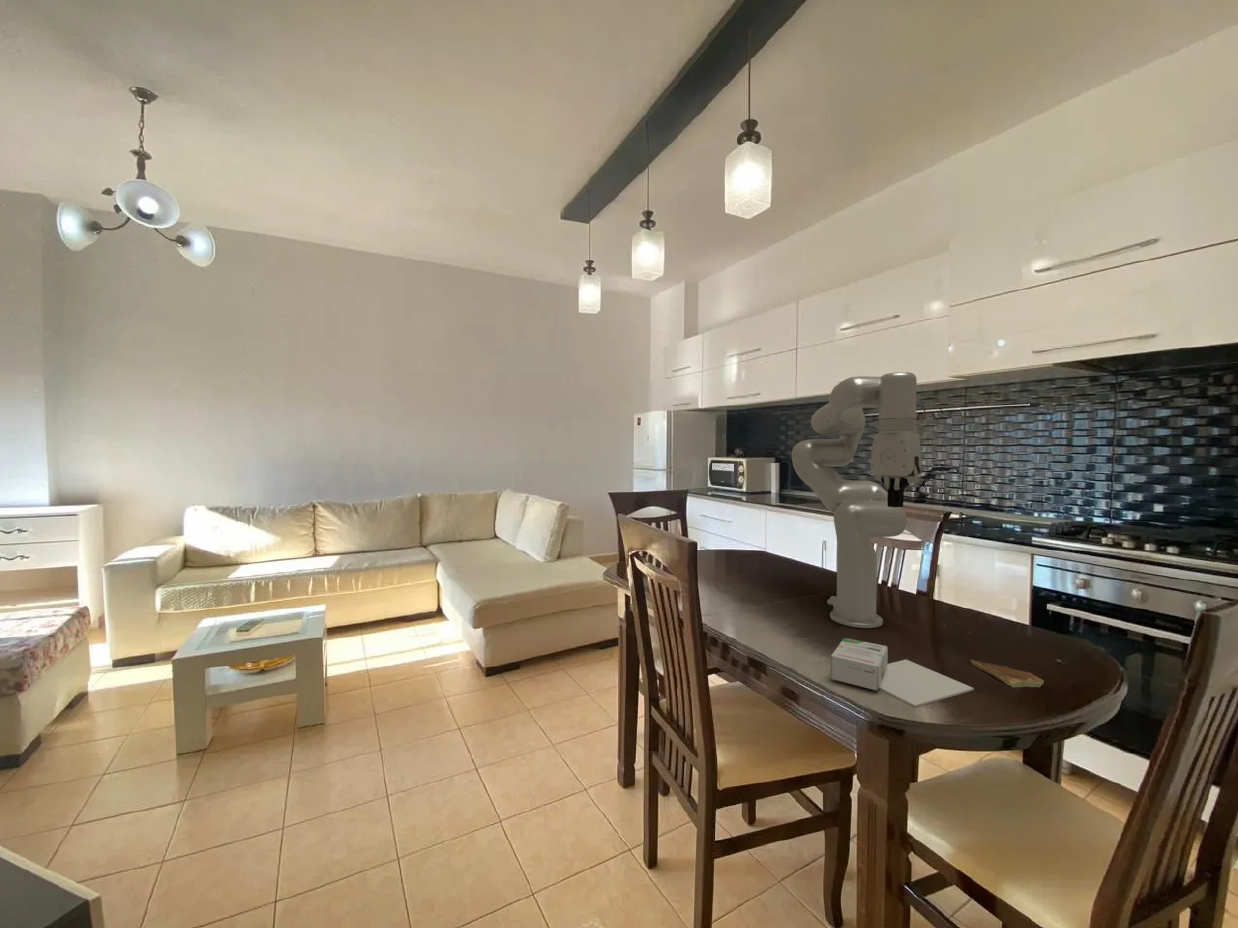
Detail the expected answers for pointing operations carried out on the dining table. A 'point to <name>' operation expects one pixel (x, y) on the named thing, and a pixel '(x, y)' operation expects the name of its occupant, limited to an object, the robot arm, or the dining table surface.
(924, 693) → the grey mat
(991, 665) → the shard
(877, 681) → the ink box
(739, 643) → the dining table surface
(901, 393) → the robot arm
